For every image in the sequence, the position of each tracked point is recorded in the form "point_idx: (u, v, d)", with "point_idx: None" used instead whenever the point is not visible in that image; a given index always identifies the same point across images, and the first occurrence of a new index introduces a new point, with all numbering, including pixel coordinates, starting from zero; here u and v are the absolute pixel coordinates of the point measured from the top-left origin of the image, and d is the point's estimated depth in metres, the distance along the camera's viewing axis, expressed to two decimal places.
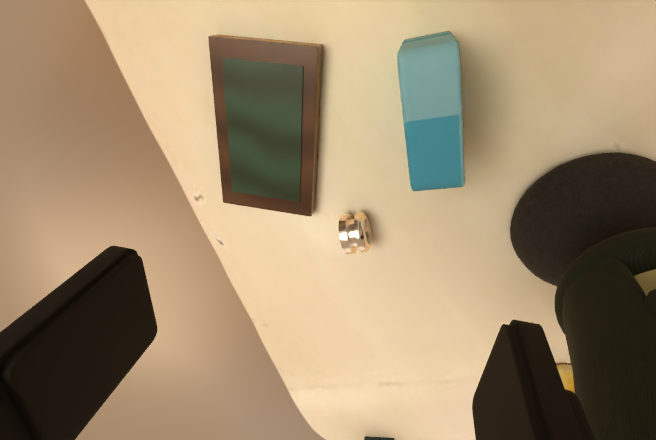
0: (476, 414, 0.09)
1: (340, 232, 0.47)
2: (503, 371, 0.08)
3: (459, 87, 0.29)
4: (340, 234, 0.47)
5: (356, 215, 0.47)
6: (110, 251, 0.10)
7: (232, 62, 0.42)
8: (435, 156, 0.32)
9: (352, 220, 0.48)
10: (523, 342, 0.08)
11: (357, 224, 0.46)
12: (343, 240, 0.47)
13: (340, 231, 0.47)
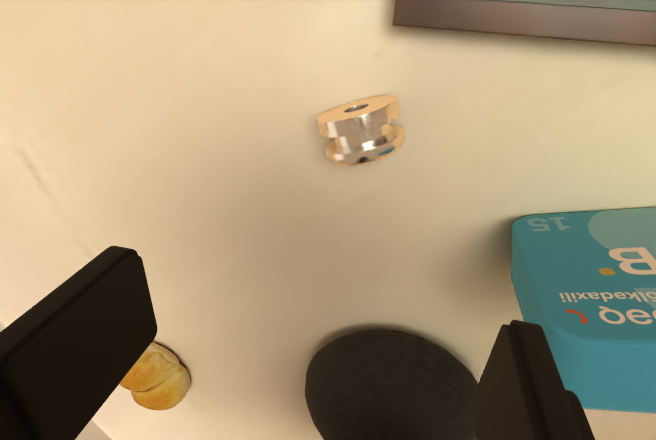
0: (476, 414, 0.09)
1: (376, 113, 0.21)
2: (503, 371, 0.08)
3: None
4: (373, 114, 0.21)
5: (403, 134, 0.24)
6: (110, 251, 0.10)
7: None
8: (641, 381, 0.17)
9: (389, 124, 0.24)
10: (523, 342, 0.08)
11: (394, 146, 0.23)
12: (361, 122, 0.22)
13: (379, 113, 0.22)
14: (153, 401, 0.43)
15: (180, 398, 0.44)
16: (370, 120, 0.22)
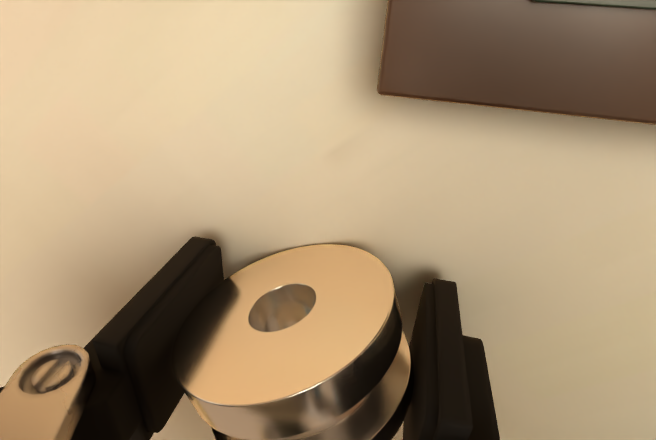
0: None
1: (327, 386, 0.06)
2: (421, 322, 0.09)
3: None
4: (316, 392, 0.06)
5: (412, 375, 0.09)
6: (194, 241, 0.10)
7: None
8: None
9: None
10: (436, 295, 0.09)
11: (386, 439, 0.08)
12: (277, 417, 0.07)
13: (336, 383, 0.07)
14: None
15: None
16: (308, 409, 0.07)
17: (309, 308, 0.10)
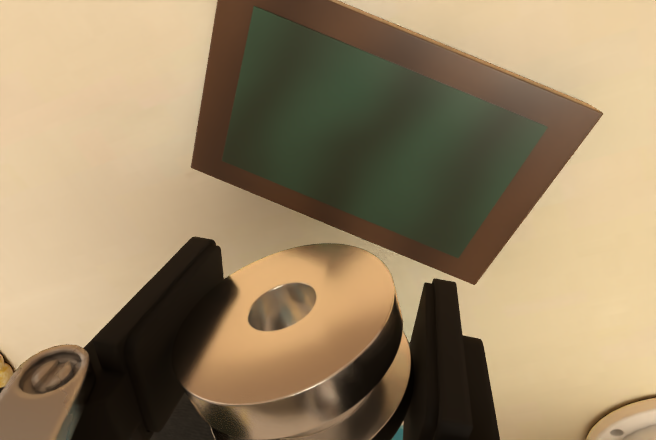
0: None
1: (328, 386, 0.06)
2: (421, 322, 0.09)
3: None
4: (316, 392, 0.06)
5: (412, 375, 0.09)
6: (194, 241, 0.10)
7: (527, 145, 0.20)
8: None
9: None
10: (436, 295, 0.09)
11: (386, 439, 0.08)
12: (277, 416, 0.07)
13: (336, 383, 0.07)
14: None
15: None
16: (308, 408, 0.07)
17: (309, 307, 0.09)
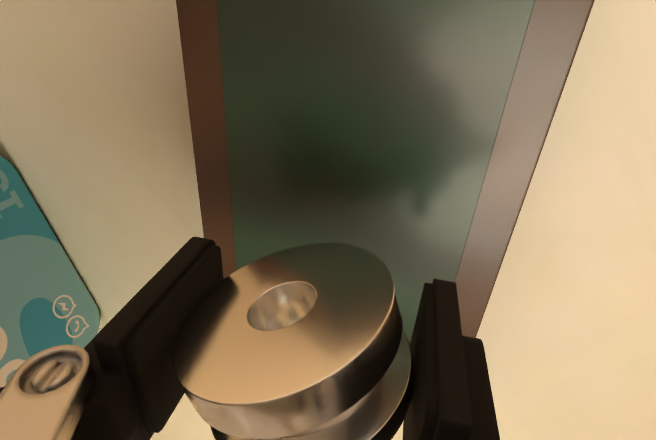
0: None
1: (327, 385, 0.06)
2: (421, 322, 0.09)
3: None
4: (316, 391, 0.06)
5: (412, 374, 0.09)
6: (194, 241, 0.10)
7: None
8: None
9: None
10: (436, 295, 0.09)
11: (387, 438, 0.08)
12: (276, 416, 0.07)
13: (336, 382, 0.07)
14: None
15: None
16: (307, 407, 0.07)
17: (309, 307, 0.09)
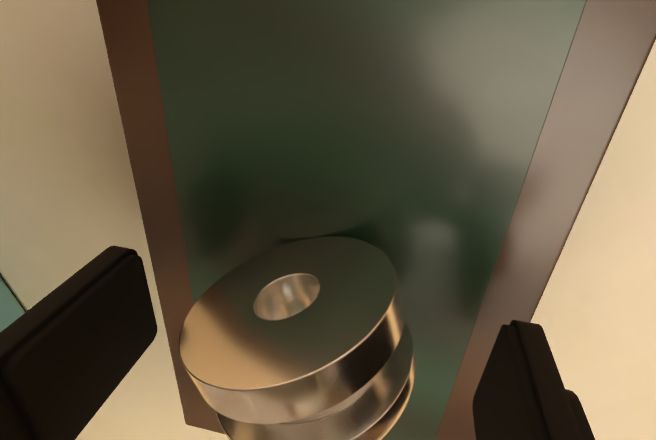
0: (476, 414, 0.09)
1: (332, 371, 0.07)
2: (503, 371, 0.08)
3: None
4: (321, 377, 0.07)
5: (414, 363, 0.09)
6: (110, 251, 0.10)
7: None
8: None
9: None
10: (523, 342, 0.08)
11: (389, 425, 0.08)
12: (282, 401, 0.07)
13: (340, 368, 0.07)
14: None
15: None
16: (312, 393, 0.07)
17: (312, 298, 0.10)
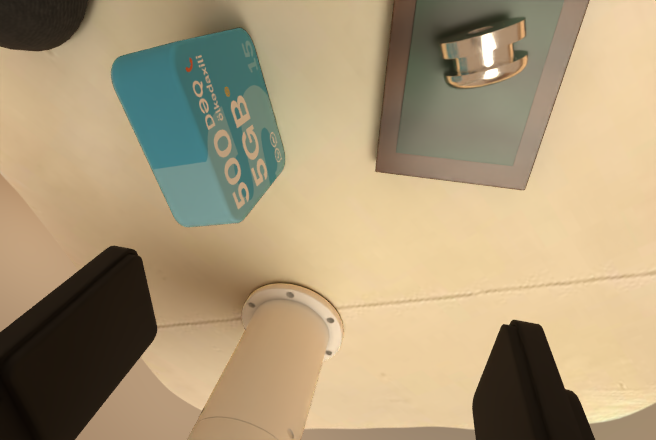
0: (476, 414, 0.09)
1: (512, 28, 0.22)
2: (503, 371, 0.08)
3: (164, 196, 0.26)
4: (509, 29, 0.22)
5: None
6: (110, 251, 0.10)
7: (498, 160, 0.30)
8: (157, 115, 0.23)
9: None
10: (523, 342, 0.08)
11: (523, 64, 0.23)
12: (496, 38, 0.22)
13: (514, 28, 0.22)
14: None
15: None
16: (506, 35, 0.22)
17: None
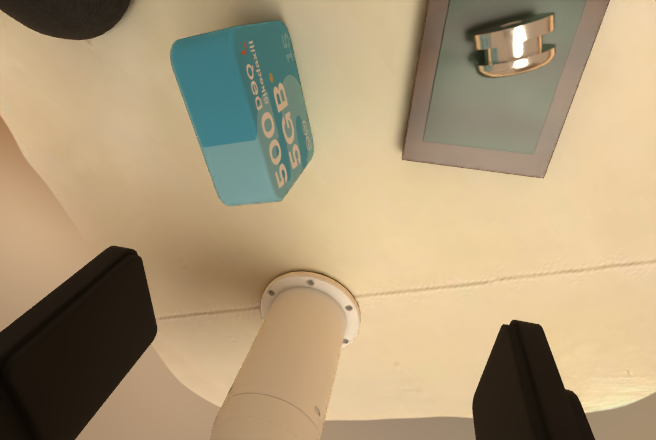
0: (476, 414, 0.09)
1: (544, 21, 0.24)
2: (503, 371, 0.08)
3: (210, 174, 0.28)
4: (541, 22, 0.24)
5: None
6: (110, 251, 0.10)
7: (519, 149, 0.32)
8: (212, 95, 0.25)
9: None
10: (523, 342, 0.08)
11: (551, 55, 0.25)
12: (529, 30, 0.24)
13: (545, 21, 0.24)
14: None
15: None
16: (538, 27, 0.24)
17: None
